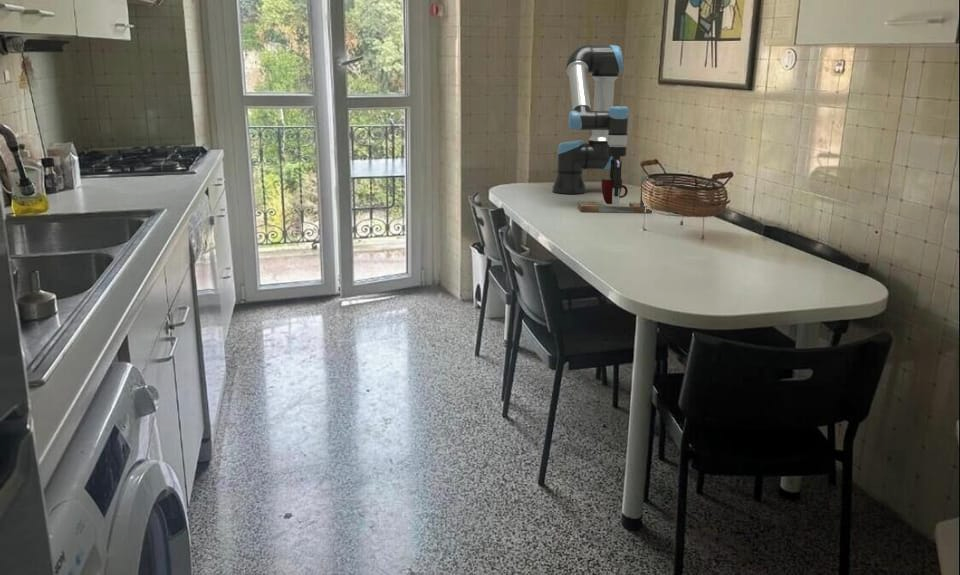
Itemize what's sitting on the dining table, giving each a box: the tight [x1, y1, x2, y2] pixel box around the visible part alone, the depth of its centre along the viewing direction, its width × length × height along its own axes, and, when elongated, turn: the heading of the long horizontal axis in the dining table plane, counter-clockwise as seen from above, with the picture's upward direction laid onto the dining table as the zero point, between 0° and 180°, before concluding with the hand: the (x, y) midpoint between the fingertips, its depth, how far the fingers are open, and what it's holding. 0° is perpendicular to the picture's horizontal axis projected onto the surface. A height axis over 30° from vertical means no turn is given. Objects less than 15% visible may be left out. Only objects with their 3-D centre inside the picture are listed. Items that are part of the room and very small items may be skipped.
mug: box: [601, 177, 628, 205], centre depth 293 cm, size 11×8×10 cm
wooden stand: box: [577, 175, 653, 214], centre depth 290 cm, size 13×28×14 cm, turn 88°
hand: (613, 202), depth 294 cm, fingers closed on mug, 8 cm apart
